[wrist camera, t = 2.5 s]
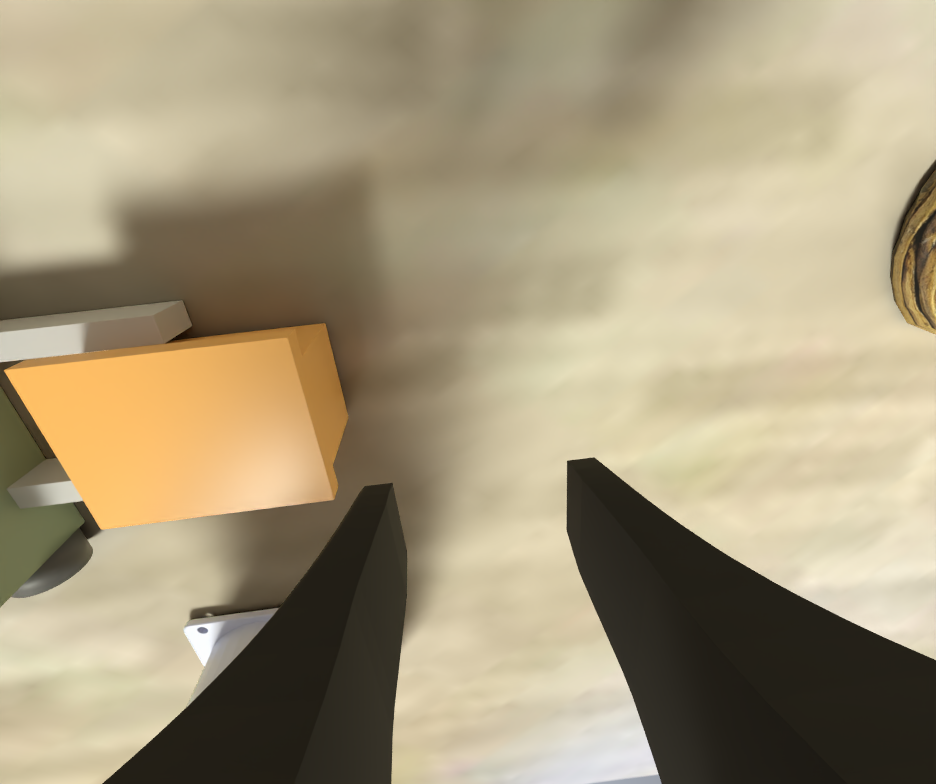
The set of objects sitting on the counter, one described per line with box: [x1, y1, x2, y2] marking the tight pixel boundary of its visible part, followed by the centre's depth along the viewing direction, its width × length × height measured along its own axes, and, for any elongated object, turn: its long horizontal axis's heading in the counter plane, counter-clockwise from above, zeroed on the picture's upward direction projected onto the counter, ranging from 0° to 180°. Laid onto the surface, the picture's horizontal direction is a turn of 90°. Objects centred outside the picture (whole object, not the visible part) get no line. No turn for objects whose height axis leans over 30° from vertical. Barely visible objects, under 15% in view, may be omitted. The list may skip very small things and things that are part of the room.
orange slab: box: [4, 323, 348, 530], centre depth 16 cm, size 8×6×4 cm
